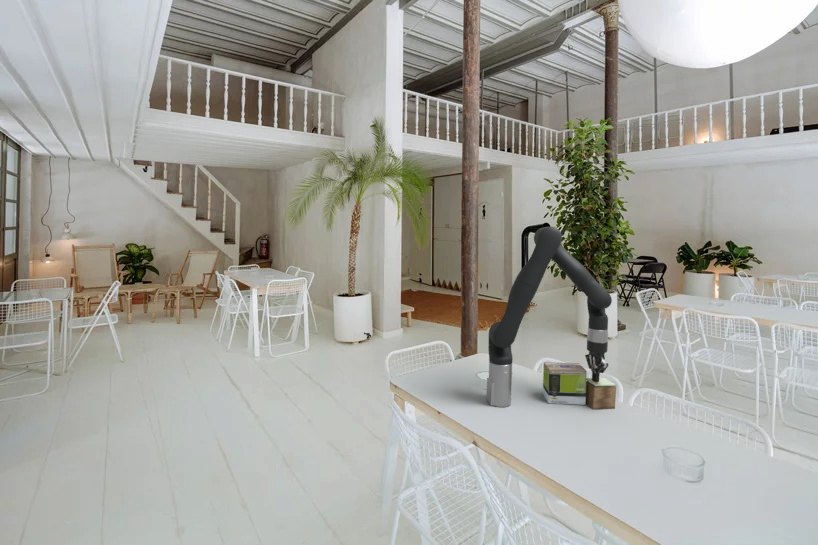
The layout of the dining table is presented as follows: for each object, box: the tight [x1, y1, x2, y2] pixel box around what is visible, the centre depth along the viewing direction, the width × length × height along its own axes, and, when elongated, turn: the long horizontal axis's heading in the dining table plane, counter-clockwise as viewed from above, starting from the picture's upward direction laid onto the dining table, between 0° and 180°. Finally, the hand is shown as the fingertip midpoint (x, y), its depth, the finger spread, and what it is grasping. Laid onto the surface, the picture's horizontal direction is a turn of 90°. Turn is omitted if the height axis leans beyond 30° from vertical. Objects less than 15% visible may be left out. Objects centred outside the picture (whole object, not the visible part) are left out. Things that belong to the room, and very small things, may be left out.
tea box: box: [542, 361, 588, 406], centre depth 170 cm, size 15×10×15 cm, turn 84°
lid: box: [586, 377, 617, 387], centre depth 164 cm, size 9×7×1 cm
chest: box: [585, 380, 617, 410], centre depth 165 cm, size 9×7×9 cm
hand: (595, 381), depth 164 cm, fingers closed
